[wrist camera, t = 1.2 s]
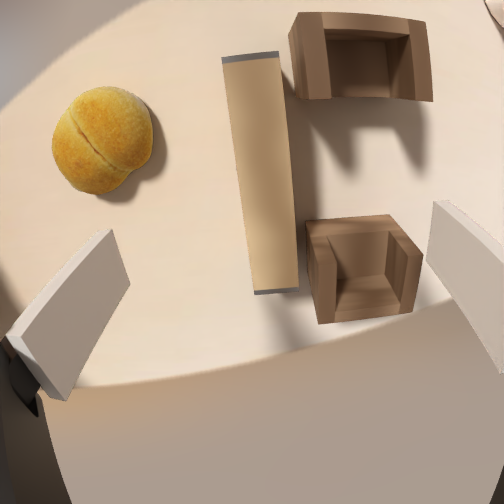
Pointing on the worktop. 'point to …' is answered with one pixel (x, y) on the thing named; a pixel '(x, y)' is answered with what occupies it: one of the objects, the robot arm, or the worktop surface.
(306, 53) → the post
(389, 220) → the post
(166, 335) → the worktop surface
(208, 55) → the worktop surface
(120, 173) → the bread roll
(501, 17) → the can
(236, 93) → the rail
